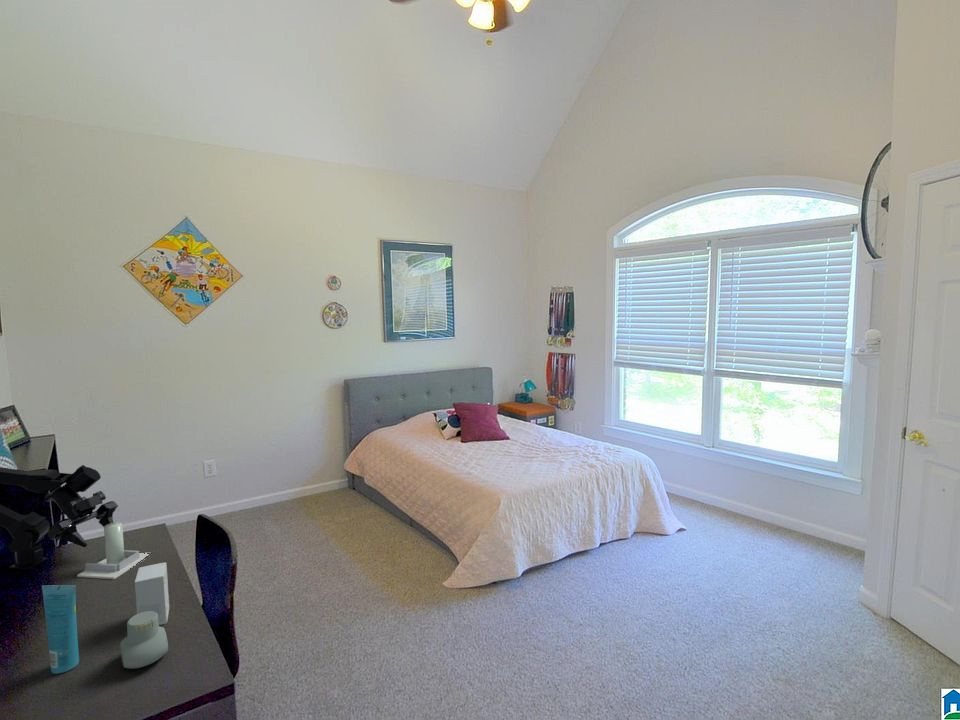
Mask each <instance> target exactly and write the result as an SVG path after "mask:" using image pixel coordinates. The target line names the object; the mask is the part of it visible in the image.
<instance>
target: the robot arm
mask: <svg viewBox="0 0 960 720" xmlns="http://www.w3.org/2000/svg"><path fill="white" fill-rule="evenodd" d="M101 479H102V478H101V474H100V472H99V471H98V470H96V468H92V467H89V466H85V465H84V464H82V465H80V466H79V467H77V469H75V471H74V472H72V473H68V472H67V473H66V472H60V471H59V470H58V469H36V470H34V469H33V470H22V469H15V468H7V467H2V466H1V467H0V484H4V485H13V486H19V487H21V488H22V487H23V488H24V489H25V490H27V491H29V492H34V493H39V494H46V496H45V497H44V500H43V501H44V502H45V503H46V502H47V503H48V502H55V503H56V505H57V507H59V508H60V510H61V511H60V512H59V514H60V515H61V516H64V515H65V516H66V517H67V518H64V519H62V520H61V519H60V520H59V521H56V522H55V523H54V524H53V525H52V526H51V527H50V522H49V520H47V517H45V516H41V515H39V514H38V513H37V512H35V511H32V512H30V513H28V514H20V513H19V512H16V511H14V510H12V509H10V508H8V507H6V506H4V505H3V504H0V527H3V528H5V529H6V530H7V531H8V533H9V534H10V536H11V538H13V539H14V540H13V541H11V542H10V543H9V544H8V545H7V549H8V551H9V552H10V553H13V559H14V560H13V561H14V564H12V565H10V566H9V569H15V570H16V569H17V570H28V569H31V568H33V567H35V566H37V565H39V564H41V563H42V562H45V561H47V560H48V557H44V553H43V547H42V542H40V541H41V540H43V539H44V538H45V535H46V534H47V537H48V538H49V539H50V541H54V540H57V541H59V540H61V541H64V542H68V543H70V544H71V543H72V544H75V545H76V546H80V547H83V548H87V546H88V544H87V541H86V540H85V539H84V538H83V536H82V534H80V533H79V532H78V530H77V526H78V525H81V524H83V523H85V522H88V521H90V520H93V519H94V518H96V520H98V523H99V524H100V525H101V526H102V528H104V526H106V525H108V524H110V523H114V517H113V515H114V512H115V511H116V510H117V508H118V507H119V505H118V504H117V503H116V502H115V501H114V500H110V501H108V502H105V503H104V502H103V501H105V500H106V499H107V496H106V495H105V493H104V492H103V491H102V490H99V491H96V492H95V493H92V496H89V497H86V496H83V497H82V496H81V495H80V494H79V493H84V492H86V491H88V489H90V488H91V487H92V486H93V485H95V484H96V483H97V482H98V481H99V480H101ZM53 489H54V490H53ZM50 491H52V492H50ZM98 505H100V506H99V507H98V508H97V506H98Z"/></svg>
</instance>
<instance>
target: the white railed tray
mask: <svg viewBox="0 0 960 720" xmlns="http://www.w3.org/2000/svg"><path fill="white" fill-rule="evenodd" d="M139 552H140V550H130V549H128V550H127V549H124V556H125V560H123V561H122V562H120V563H118V564H107V562H106V557H105V558H103V559H102V560H100V561H99V562H97V563H96V562H85V564H84V570H83V571H82V572H80V573H78V574H77V576H76V577H77V578H84V579H85V578H87V579H105V580H115V579H117V578H118V577H120V576H121V575H123V574H124V573H126V572H127V571H129V570H131V569H132V568H134V567H135V566H137V565H138V564H139V563H138V562H140V561H141V560H143V559H144V558H145V557H146V556H148V555H149V554H147V553H148V552H145V554H144V553H139ZM144 560H145V559H144ZM144 560H143V561H144ZM141 562H142V561H141ZM141 562H140V563H141ZM137 563H138V564H137ZM136 564H137V565H136ZM133 566H134V567H133ZM130 568H131V569H130Z"/></svg>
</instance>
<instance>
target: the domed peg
mask: <svg viewBox="0 0 960 720" xmlns="http://www.w3.org/2000/svg"><path fill="white" fill-rule="evenodd" d="M123 530H124V529H123V522H121V521H115V522H113V523H110V524H108V525H106V526H104V527H103V532H104V546H105V548H104V549H105V558H106V562H107V564H118V563H120V562H122V561H123V560H125V556H124V550H125V544H124V543H125V542H124V531H123Z"/></svg>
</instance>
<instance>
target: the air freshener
mask: <svg viewBox="0 0 960 720" xmlns="http://www.w3.org/2000/svg"><path fill="white" fill-rule="evenodd" d="M126 631H127V633H126V634H127V636H126V637H125V638H123V639H122V640H121V642H119V644H120V654H121V661H122V665H123V668H124V669H125V668H126V669H130V670H131V669H139V668H144V667H147V666H149V665H151V664H154V663H155V662H157V661H159V660H160V659H161V658H162V657H164V656H165V655H166V653H168V651H169V643H168V642H169V641H168V637H167V636H168V635H167V633H166V629H165V627H163V626H160V625H158V614H157V613H156V612H154V611H146V612H142V613H139V614H137V613H136V614H134V615H133V616H131V617H130V618H129V619H128V620H127V622H126Z"/></svg>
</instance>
